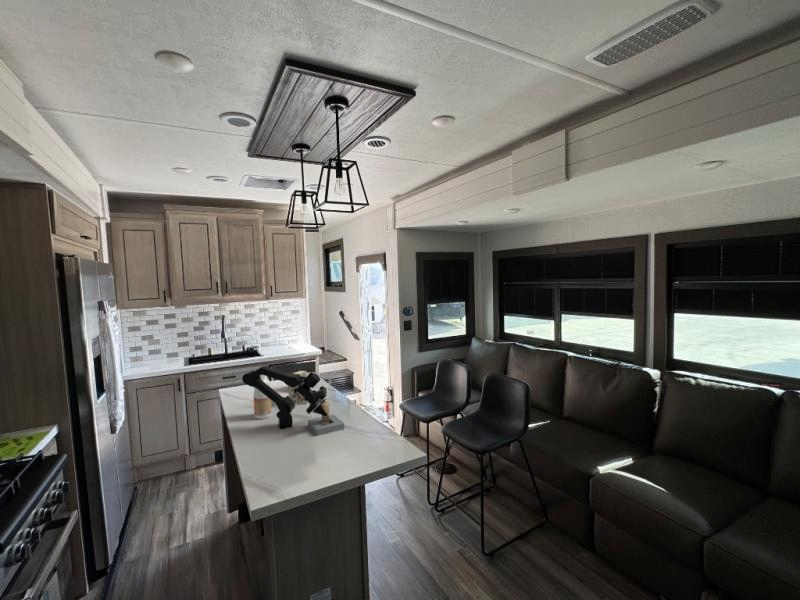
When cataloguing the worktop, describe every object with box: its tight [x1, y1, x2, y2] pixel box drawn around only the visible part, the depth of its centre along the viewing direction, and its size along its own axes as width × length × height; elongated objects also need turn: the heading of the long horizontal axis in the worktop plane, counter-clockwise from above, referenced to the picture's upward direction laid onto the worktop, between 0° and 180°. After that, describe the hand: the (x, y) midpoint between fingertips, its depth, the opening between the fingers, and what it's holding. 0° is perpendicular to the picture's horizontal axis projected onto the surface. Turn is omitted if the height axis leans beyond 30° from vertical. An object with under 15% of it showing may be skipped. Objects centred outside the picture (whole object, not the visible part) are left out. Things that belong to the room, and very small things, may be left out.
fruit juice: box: [253, 368, 273, 420], centre depth 216 cm, size 9×9×28 cm
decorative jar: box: [288, 374, 309, 405], centre depth 240 cm, size 12×12×18 cm
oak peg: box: [321, 401, 330, 425], centre depth 200 cm, size 4×4×12 cm
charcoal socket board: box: [307, 414, 345, 436], centre depth 200 cm, size 15×15×3 cm
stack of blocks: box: [287, 370, 317, 391], centre depth 269 cm, size 21×6×12 cm, turn 146°
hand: (328, 414), depth 200 cm, fingers closed on oak peg, 4 cm apart
